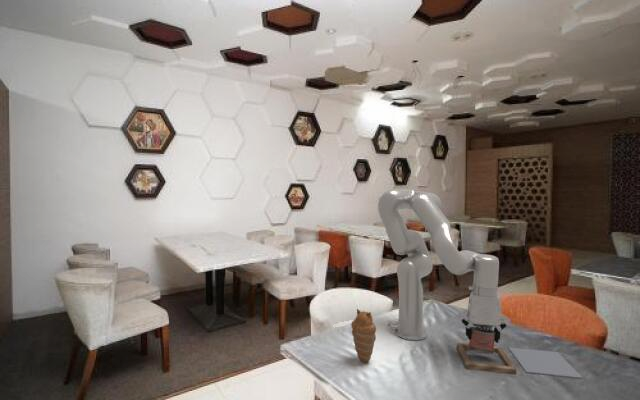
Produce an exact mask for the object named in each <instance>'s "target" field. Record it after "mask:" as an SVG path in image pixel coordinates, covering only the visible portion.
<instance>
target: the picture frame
mask: <svg viewBox="0 0 640 400" xmlns="http://www.w3.org/2000/svg"><path fill="white" fill-rule="evenodd" d="M456 347H457V349H458V352H459V355H460V356H461V359H462V361H463V364H464V367H465V369H466V370H476V371H483V372H495V373H501V374H502V373H503V374H509V375H511V374H513V375H517V368H516V367H515V366H514V364H513V363H512V361H511V359H510V358H509V357H508V356H507V354H506V352H505V351H504V349H502V347H501V346H496V345H494V349H493V350H494V353H497V354H498V355H499V357H500V359H501V360H502V362H503V363H504V365H498V364H497V365H496V364H487V363H479V362H471V361H470V359H469V356H468V354H467V352H466V350H469V351H471V350H470V349H469V348H468V347H469V343H465V342H464V343H463V342H456Z"/></svg>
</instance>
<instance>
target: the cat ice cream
mask: <svg viewBox="0 0 640 400" xmlns="http://www.w3.org/2000/svg"><path fill="white" fill-rule="evenodd" d="M350 326H351V334H352V336H353V337H352V338H353V340H352V341H353V343H354V349H355V352H356V355H357V358H358V359H359V361H361V362H363V363H367V362H370V360H371V359H372V355H373V353H374V352H373V350H374V346H375V341H376V339H377V336H376V332H377V327H376V325H375V323H374V318H373V316H372V314H371V312H368V311H364V310H363V311H361V310H360V309H358V308H356V317H355V319H353V320H352V322H351V325H350Z"/></svg>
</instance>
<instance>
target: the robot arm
mask: <svg viewBox="0 0 640 400" xmlns="http://www.w3.org/2000/svg"><path fill="white" fill-rule="evenodd" d="M441 207H442V200H441V198H440V197H439V196H438V195H437V194H435V193H433V192H428V191H427V192H426V191H420V190H416V189H411V188H410V189H409V188H396V189H395V188H394V189H389V190H387V191H385V192H384V193H382V195H381V196H380V197H379V200H378V203H377V210H378V214H379V217H380V219H381V221H382V223H383V226H384V228H385V232H386V234H387V238H388V241H389V243H390V245H391V248H392V250H393V252H394V253H395V254H396V255H400V256H403V255H407V256H406V257H405V258H403V259H401V260H400V261H399V262H398V265H397V267H396V274H397V275H396V276H397V281H398V319H397V320H395V321H393V320H392V321H390V320H387V326H388V327H390V329H394V333H395V335H396V336H398V337H400V338H401V339H404V340H408V341H421V340H424V339H425V338H427V331H426V329H424V326H423V325H424V323H423V322H424V320H423V319H424V318H423V317H424V289H423V288H424V287H423V283H422V278H425V277H426V276H428V275H430V274H431V273H432V272H433V268H434V267H433V265H434V263H433V260H432V257H431V255H430V253H429V249H428V248H427V245H426V242H425V240H424V238H423V236H422V234H421V233H420V232H418V231H416V230H414V229H409V230H408V228H407V224H406V221H405V220H404V218H403V217H402V215H401V214H400V212H399V210H405V209H407V210H412V211H413V212H414V214H415V215H416V217H417V218H418V219H419V221H420V222H421V224H422V225H423V227H424V228H425V229H426V231H427V232H428V234H429V235H430V239H431V243H432V246H433V250H434V251H435V254H436V256H437V257H438V258H439V260H440V262H441V263H442V265H443V266H444V267H445V269H447V270H448V271H449V273H451V274H453V275H456V276H463V275H464V274H466V273H469V272H473V283H472V285H469V286H468V291H471V292H470V295H469V299H468V302H467V304H468V305H467V308H466V309H465V310H462V311H460V312H458V313H457V316H458V318H459V320H460V321H461V323H462V324H463V325H464V326H465V336H466V337H467V339H468V340H469V341H470V340H471V335H472V329H471V327H473V324H479V325H489V326H492V327H494V328H493V331H495V332H496V334H495V339H494V343H496V344H499V340H501V332H502V331H503V330H504V329H505V328H507V326H508V325H509V324H510V323H511V319H510V318H509V317H508V316H506V315H505V314H503V313H502V302H501V301H502V300H501V297H500V296H499V295H498V290H499V288H498V287H499V286H498V283H499V272H500V261H499V258H498V257H497V256H495V255H492V254H485V253H483V254H482V253H479V252H476V251H472V250H469V249H463V250H460V251H459V250H458V248H457V247H456V245H455V244H454V242H453V241H452V238H451V235H450V232H451V222H450V221H449V219H448V218H447V217H446V215H445V214H444V213H443V211H442V210H441ZM465 316H467V318H468V319H467V320H466V319H465ZM502 319H503V321H502Z"/></svg>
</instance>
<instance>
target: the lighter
mask: <svg viewBox="0 0 640 400" xmlns="http://www.w3.org/2000/svg"><path fill="white" fill-rule="evenodd" d="M471 329H472V335H471V340H469V343H468V344H469V347H468V348H469V349H470V350H469V351H474V352H476V353H477V352H478V353H482V354H486V355H487V354H489V355H494V353H495V352H494V350H493V349H494V346H495V340H494V339H495V334H496V332H495V331H494V329H493V326H489V325H479V324H473V325H472V326H471Z"/></svg>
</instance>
